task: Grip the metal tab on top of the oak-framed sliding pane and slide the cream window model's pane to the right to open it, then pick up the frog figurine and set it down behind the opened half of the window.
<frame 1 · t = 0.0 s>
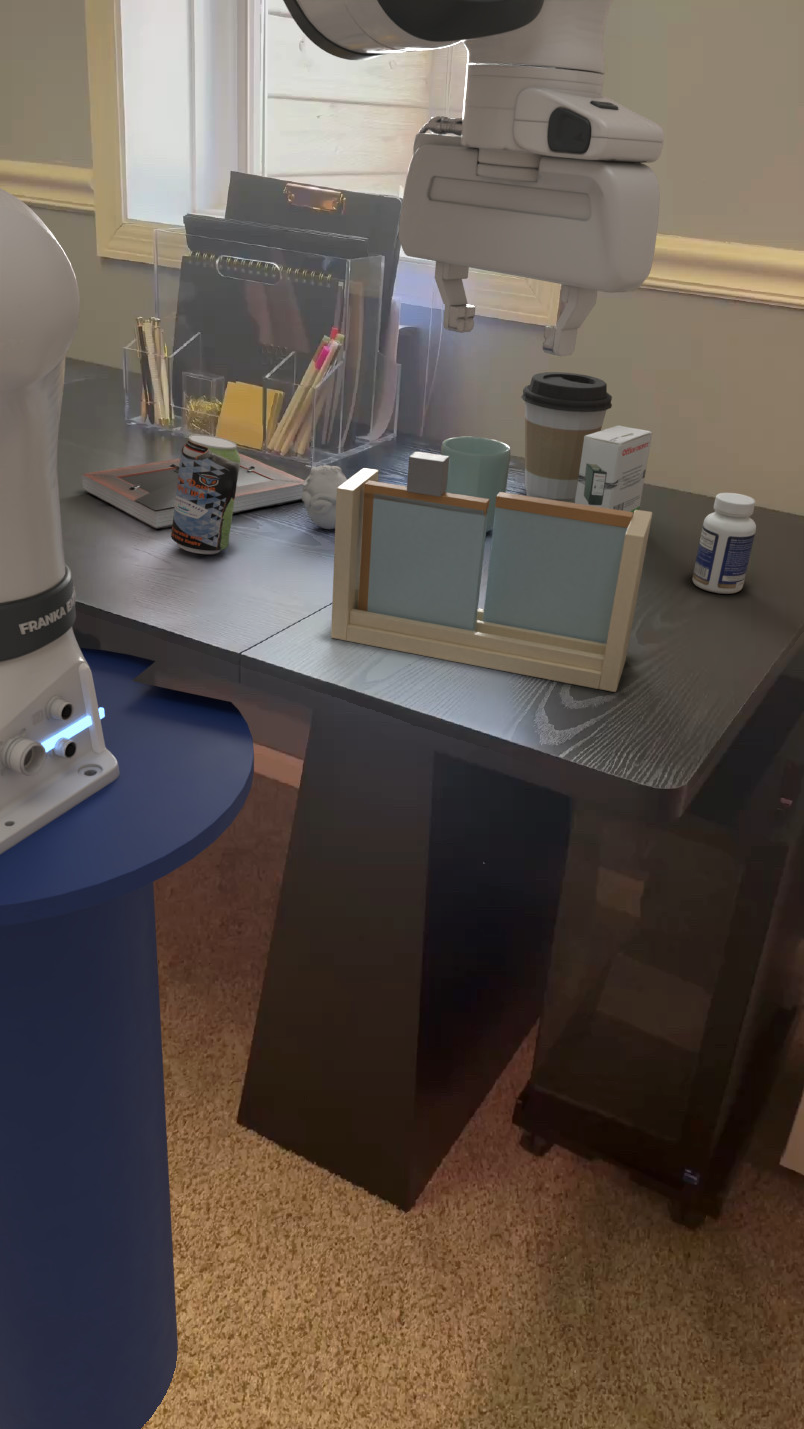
hand: (506, 342, 78), 28 cm above the table, tool pointing down, fingers open, 8 cm apart
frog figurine: (327, 528, 126), on the table
coffee cup: (553, 498, 142), on the table
ink box: (603, 531, 132), on the table
cup: (467, 531, 128), on the table
window frame: (478, 649, 99), on the table
pill bottle: (716, 587, 117), on the table
picture frame: (197, 498, 132), on the table
beverage can: (206, 551, 117), on the table
window pane: (422, 544, 95), point 9 cm above the table, slide at 0.0 cm
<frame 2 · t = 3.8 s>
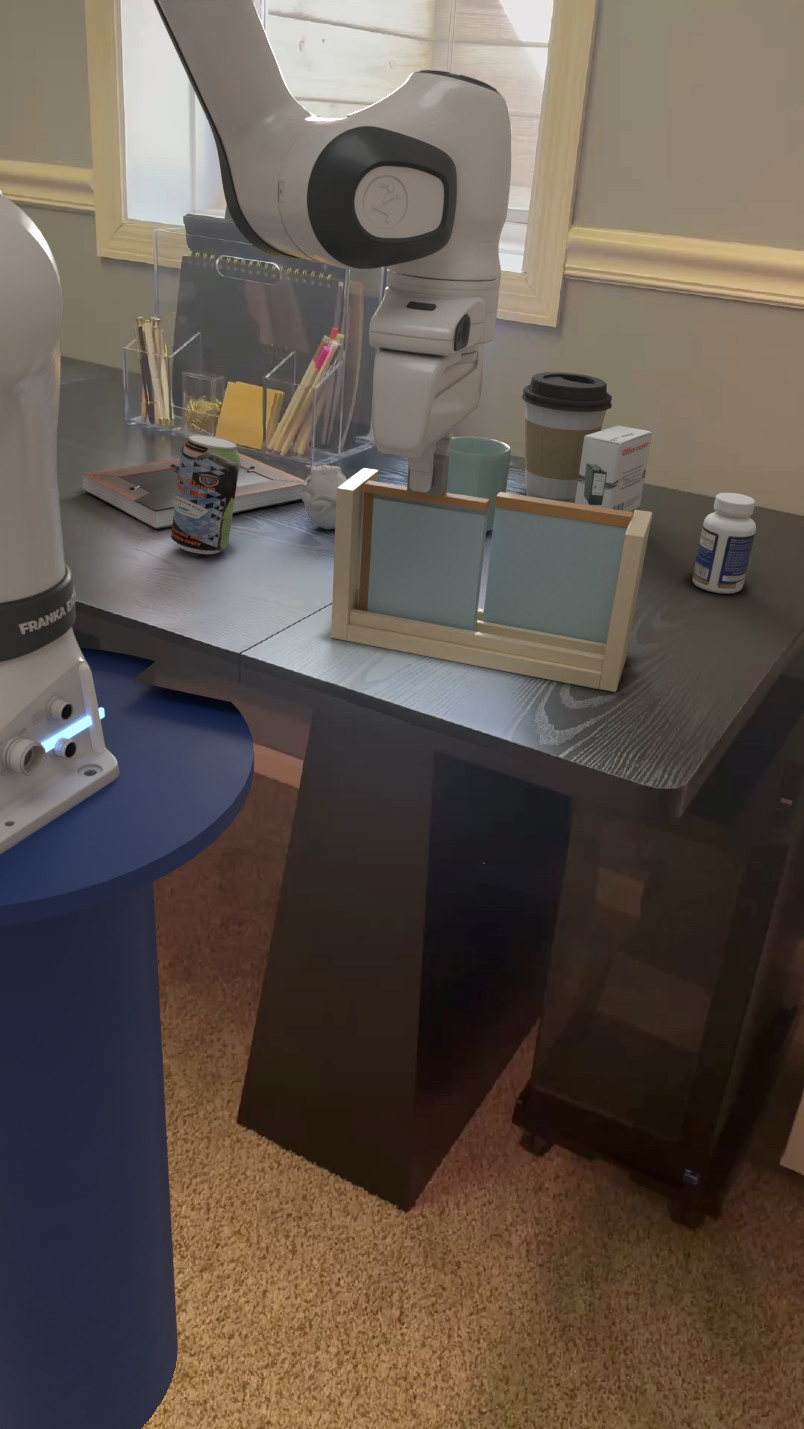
hand: (426, 484, 92), 15 cm above the table, tool pointing down, fingers closed on window pane, 2 cm apart
window pane: (422, 544, 95), point 9 cm above the table, slide at 0.0 cm, touching gripper
everything else where it was.
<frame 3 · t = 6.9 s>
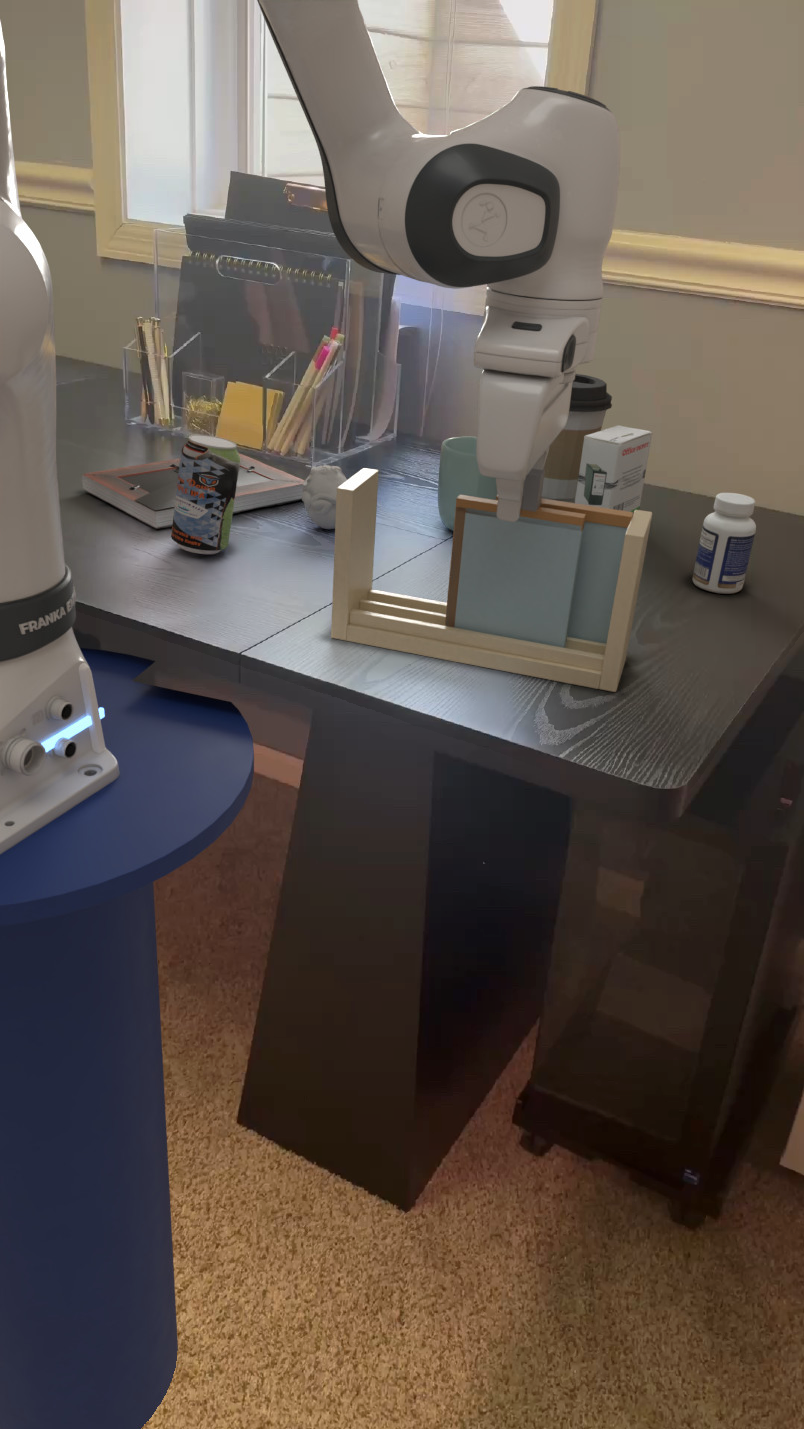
hand: (518, 505, 91), 14 cm above the table, tool pointing down, fingers open, 7 cm apart
window pane: (514, 560, 93), point 9 cm above the table, slide at 8.2 cm
everything else where it was.
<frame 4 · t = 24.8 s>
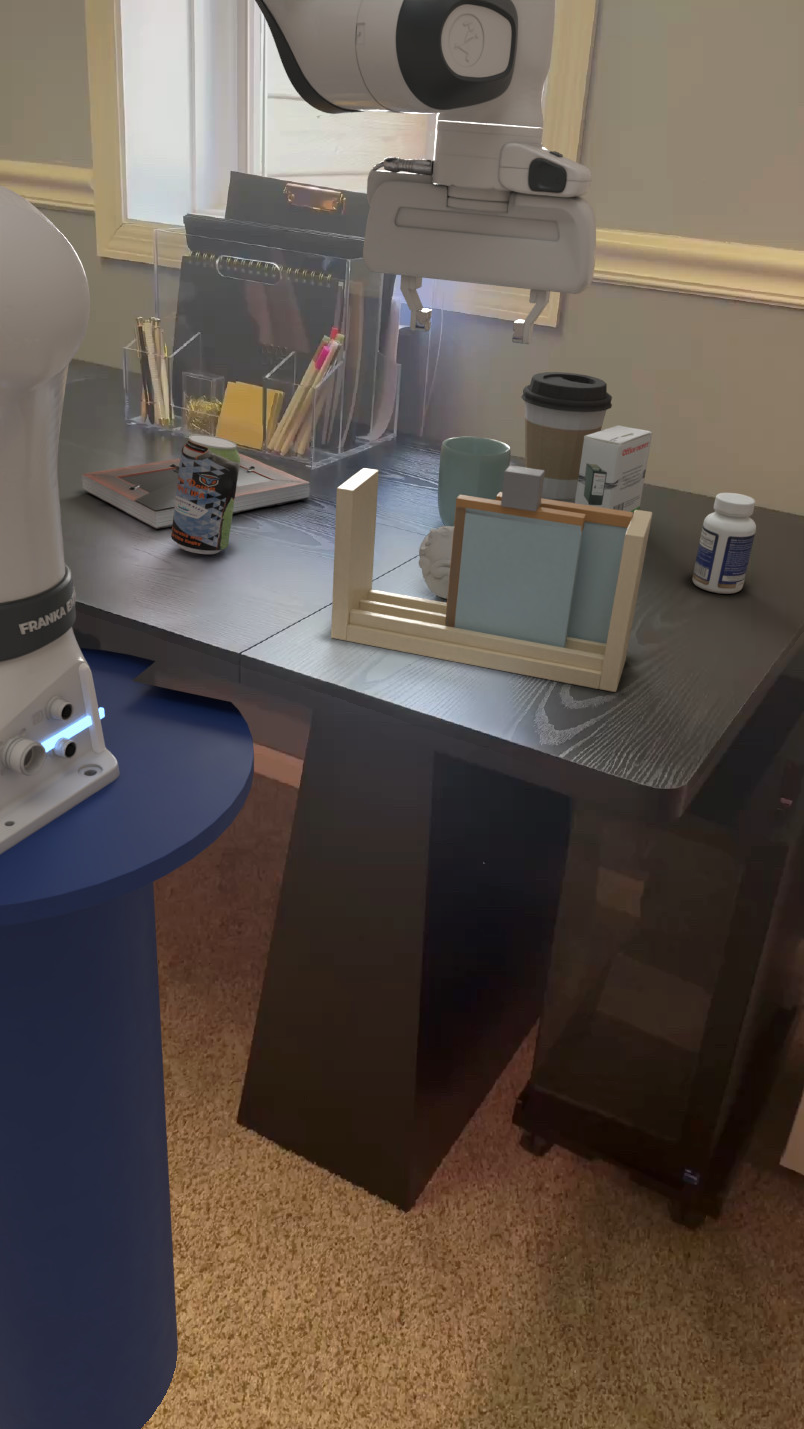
hand: (470, 336, 98), 25 cm above the table, tool pointing down, fingers open, 8 cm apart
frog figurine: (445, 597, 110), on the table
everything else where it was.
at the end: window pane slide at 8.2 cm; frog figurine inside the target area on the table beside the window frame (0.5 cm from its centre), on the table; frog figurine tilted 0° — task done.
